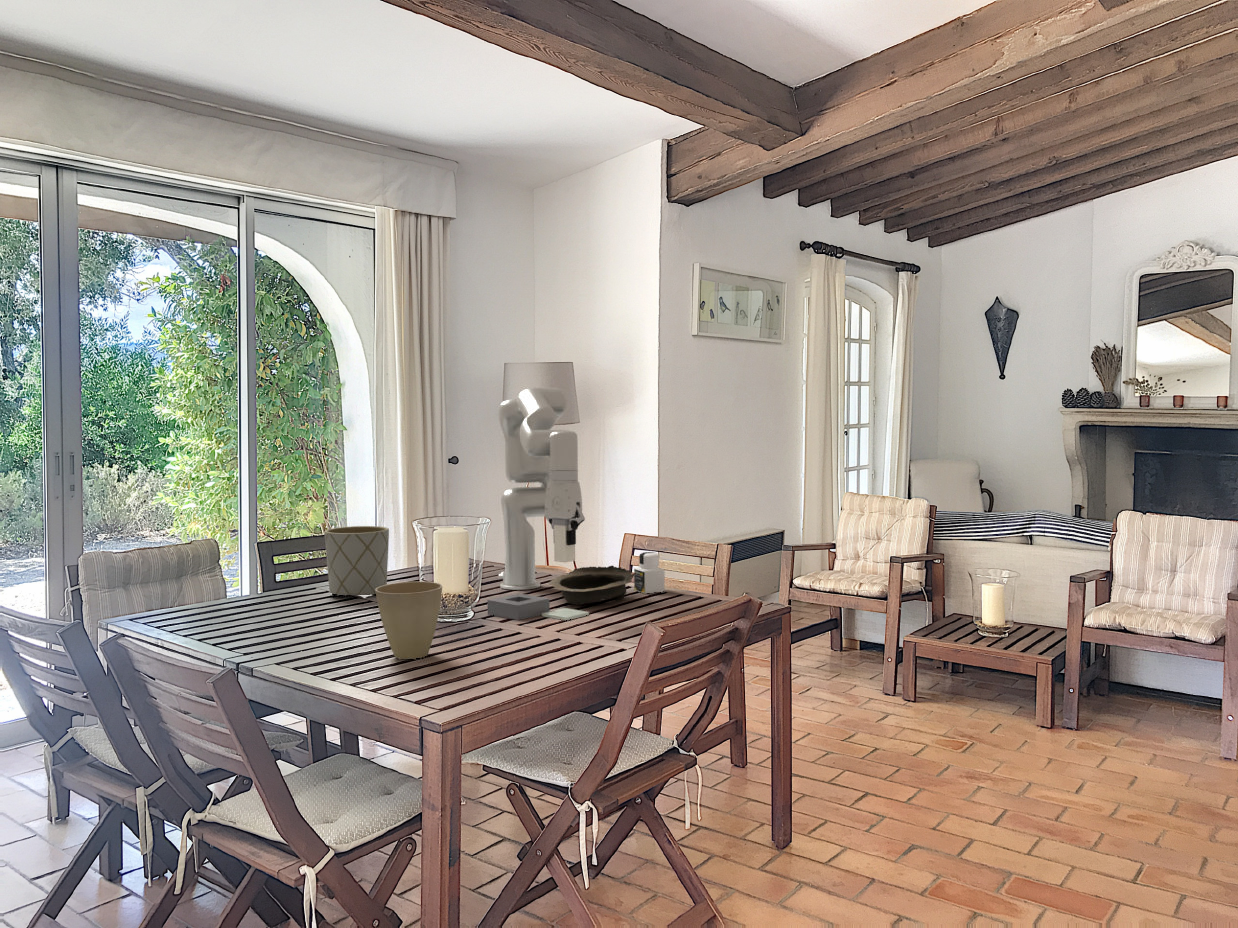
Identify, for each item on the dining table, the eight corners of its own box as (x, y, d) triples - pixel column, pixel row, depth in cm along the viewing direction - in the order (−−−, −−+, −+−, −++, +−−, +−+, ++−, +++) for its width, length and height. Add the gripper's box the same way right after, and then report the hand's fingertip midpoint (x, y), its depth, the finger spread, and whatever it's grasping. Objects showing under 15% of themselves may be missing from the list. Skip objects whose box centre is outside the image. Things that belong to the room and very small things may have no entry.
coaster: (542, 616, 263) (542, 613, 263) (564, 610, 270) (564, 607, 270) (566, 620, 257) (566, 617, 257) (588, 614, 264) (588, 611, 264)
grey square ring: (487, 614, 266) (487, 599, 266) (519, 607, 275) (518, 593, 275) (518, 620, 258) (518, 605, 258) (549, 612, 267) (549, 598, 267)
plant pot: (415, 644, 231) (414, 578, 230) (457, 654, 222) (455, 585, 221) (363, 657, 220) (361, 588, 219) (404, 668, 210) (403, 595, 209)
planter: (313, 598, 291) (311, 532, 290) (348, 587, 309) (347, 525, 308) (369, 601, 285) (367, 534, 284) (401, 589, 304) (400, 526, 303)
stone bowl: (637, 593, 294) (637, 563, 293) (630, 616, 270) (630, 584, 268) (557, 591, 297) (557, 561, 295) (542, 614, 272) (542, 582, 271)
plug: (552, 561, 262) (552, 518, 262) (564, 559, 266) (563, 517, 265) (565, 562, 259) (564, 519, 259) (576, 560, 263) (576, 518, 262)
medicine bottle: (633, 590, 300) (633, 551, 299) (654, 588, 303) (654, 550, 302) (644, 594, 294) (643, 554, 293) (665, 592, 296) (664, 553, 296)
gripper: (532, 476, 264) (533, 543, 265) (577, 478, 253) (578, 548, 254) (551, 474, 270) (552, 540, 271) (596, 477, 259) (597, 545, 260)
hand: (564, 543), depth 262 cm, fingers closed on plug, 4 cm apart
